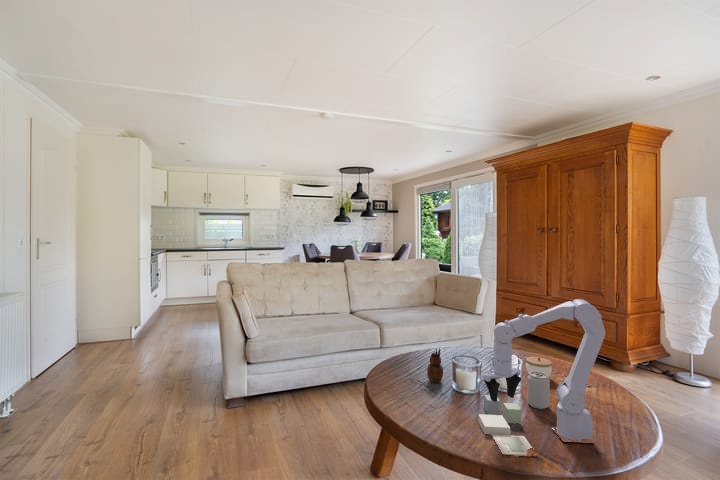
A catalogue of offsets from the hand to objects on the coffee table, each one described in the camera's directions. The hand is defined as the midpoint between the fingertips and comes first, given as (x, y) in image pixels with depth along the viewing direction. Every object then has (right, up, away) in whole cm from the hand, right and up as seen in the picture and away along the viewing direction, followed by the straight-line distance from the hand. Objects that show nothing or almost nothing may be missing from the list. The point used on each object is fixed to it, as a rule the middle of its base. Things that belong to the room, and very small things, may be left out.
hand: (502, 398), depth 122 cm
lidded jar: (+33, -9, +41) cm, 54 cm away
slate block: (0, -9, +9) cm, 13 cm away
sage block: (+5, -9, +3) cm, 11 cm away
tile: (-1, -9, -13) cm, 16 cm away
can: (+19, -9, +14) cm, 26 cm away
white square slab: (-4, -9, -2) cm, 10 cm away
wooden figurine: (-15, -8, +35) cm, 40 cm away
